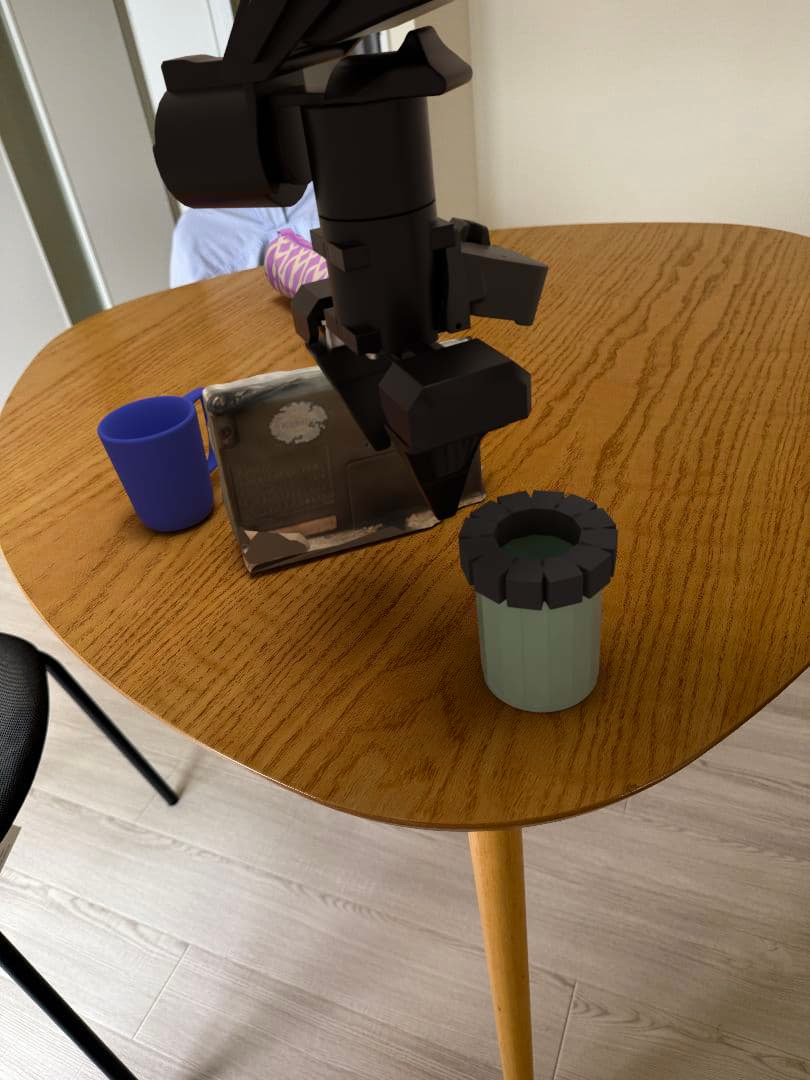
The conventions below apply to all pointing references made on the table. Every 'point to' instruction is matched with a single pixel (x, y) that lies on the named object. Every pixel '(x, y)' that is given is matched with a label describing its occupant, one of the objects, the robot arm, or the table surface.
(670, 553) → the table surface
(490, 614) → the cup
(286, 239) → the pencil case
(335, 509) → the radio
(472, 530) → the ring
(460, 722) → the table surface
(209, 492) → the mug
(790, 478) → the table surface
